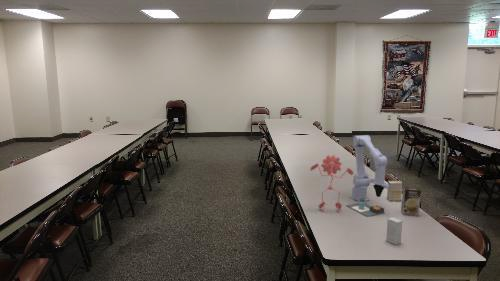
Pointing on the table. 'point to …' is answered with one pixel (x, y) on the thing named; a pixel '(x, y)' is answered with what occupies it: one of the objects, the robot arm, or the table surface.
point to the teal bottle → (361, 203)
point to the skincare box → (394, 230)
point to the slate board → (366, 209)
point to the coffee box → (410, 201)
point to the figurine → (331, 167)
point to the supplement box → (394, 191)
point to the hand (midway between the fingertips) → (378, 196)
